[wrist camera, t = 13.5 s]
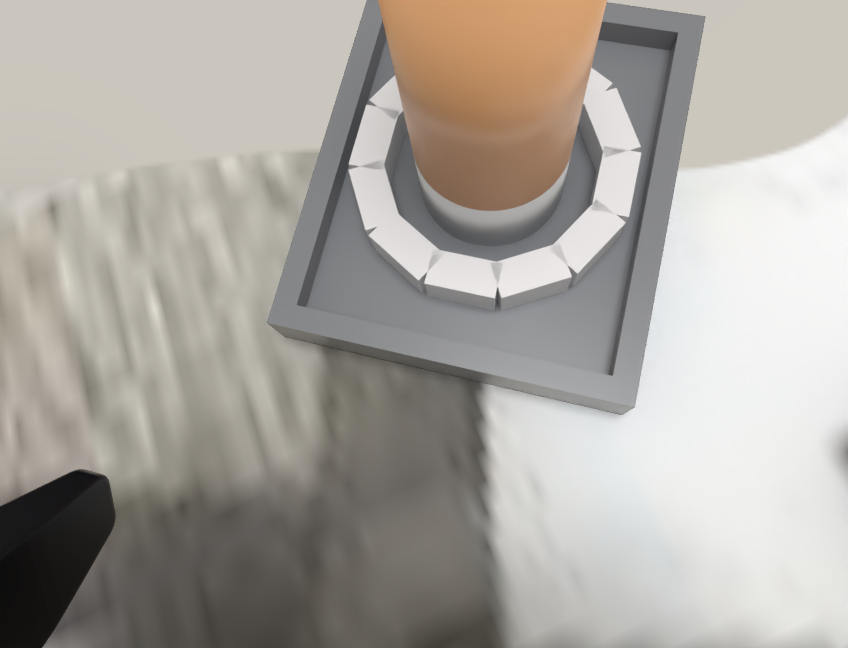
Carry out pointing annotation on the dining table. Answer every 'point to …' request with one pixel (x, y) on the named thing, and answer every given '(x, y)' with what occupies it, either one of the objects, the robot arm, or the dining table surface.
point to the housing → (508, 264)
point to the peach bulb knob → (492, 105)
